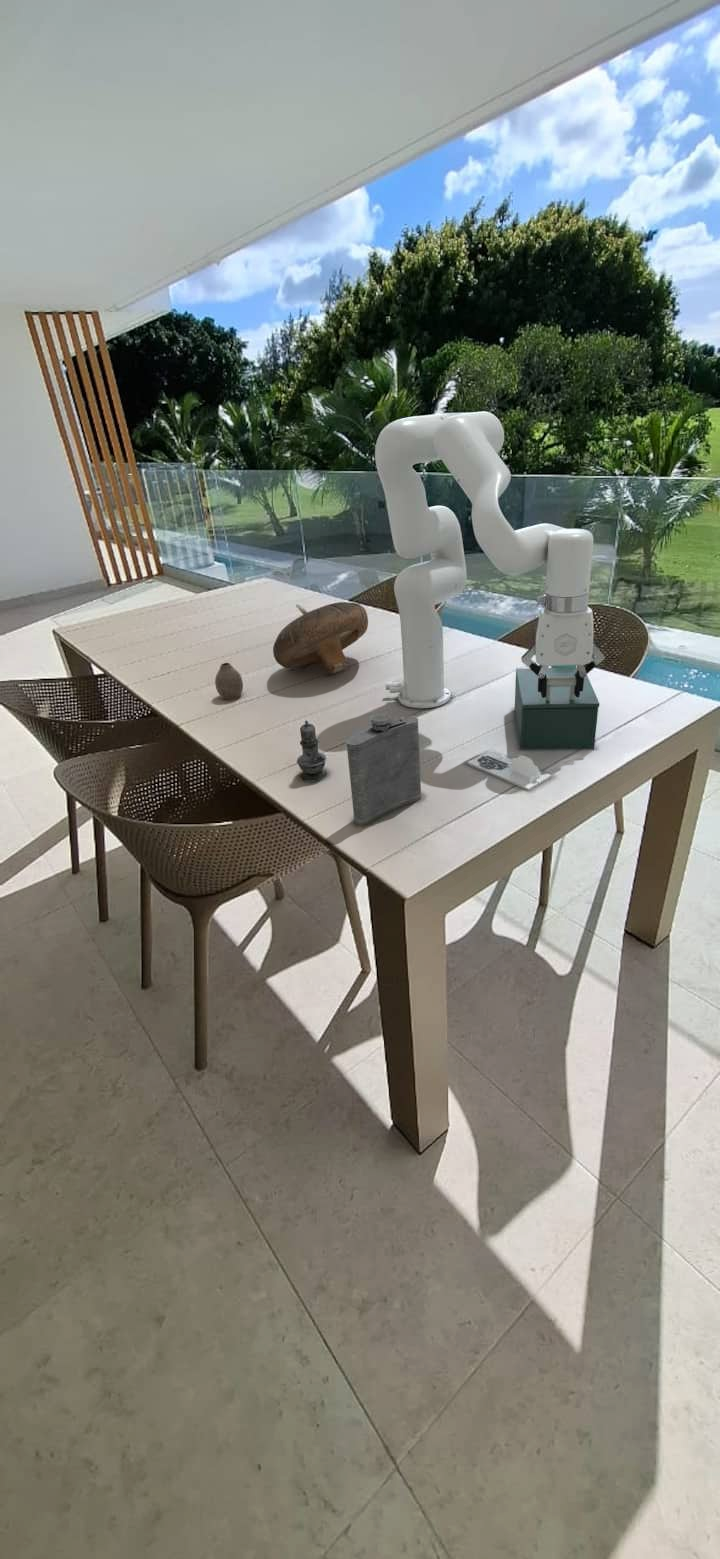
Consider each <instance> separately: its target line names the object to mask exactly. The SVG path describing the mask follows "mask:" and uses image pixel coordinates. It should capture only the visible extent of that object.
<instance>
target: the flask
mask: <svg viewBox="0 0 720 1559" xmlns="http://www.w3.org/2000/svg"><path fill="white" fill-rule="evenodd" d="M390 718H391V716H390V715H389V714H388V713H385V712H384V713H383V712H381V713H374V714H373V715H371V716H370V719H369V720H370V723H371V727H370V728H368V729H365V730H363V731H360V732H358V733H357V734H354V735H353V736H350V737H349V738H347V739H346V740H345V742H346V752H347V763H348V772H349V779H350V780H349V781H350V791H351V801H352V810H353V821H354V824H356V825H358V826H366V825H368V824H370V823H371V822H373V821H374V820H376V819H377V818H379V817H381V816H383V815H385V814H387V813H389V812H391V811H394V810H395V809H398V808H401V807H402V806H406V805H408V804H411V803H415V802H418V801H420V800H421V799H422V785H421V784H422V782H421V761H420V760H421V758H420V757H421V756H420V737H419V736H420V735H419V718H418V717H416V716H413V715H407V716H404V717H403V716H402V717H400V718H396V719H390Z"/></svg>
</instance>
